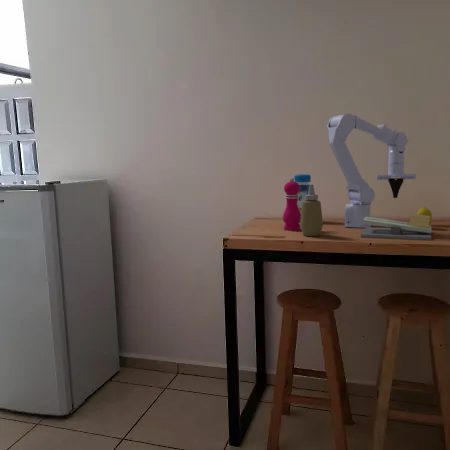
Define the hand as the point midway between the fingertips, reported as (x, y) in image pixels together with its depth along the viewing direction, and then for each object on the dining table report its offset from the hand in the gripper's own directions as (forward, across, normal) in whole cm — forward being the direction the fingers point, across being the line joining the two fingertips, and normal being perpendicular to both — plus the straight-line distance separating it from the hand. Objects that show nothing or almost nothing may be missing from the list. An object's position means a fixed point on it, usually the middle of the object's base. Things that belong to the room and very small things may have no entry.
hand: (395, 197), depth 183 cm
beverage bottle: (+11, -37, +4) cm, 39 cm away
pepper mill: (+11, -39, -16) cm, 44 cm away
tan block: (+7, +4, -27) cm, 28 cm away
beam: (+8, -3, -26) cm, 27 cm away
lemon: (+11, +9, -12) cm, 18 cm away
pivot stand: (+10, -2, -26) cm, 28 cm away
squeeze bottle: (+11, -31, -29) cm, 44 cm away
